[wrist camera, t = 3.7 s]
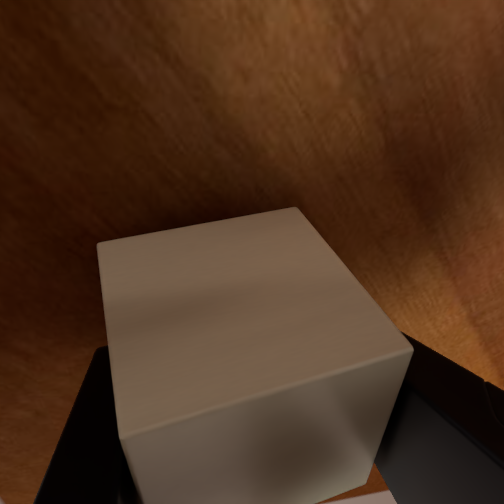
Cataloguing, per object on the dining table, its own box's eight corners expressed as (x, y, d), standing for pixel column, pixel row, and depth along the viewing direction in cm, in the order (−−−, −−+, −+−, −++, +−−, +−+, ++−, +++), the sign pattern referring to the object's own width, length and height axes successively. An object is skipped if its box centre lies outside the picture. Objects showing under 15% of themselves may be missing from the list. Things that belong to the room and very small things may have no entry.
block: (285, 336, 11) (367, 484, 8) (130, 377, 10) (160, 565, 7) (297, 205, 9) (417, 348, 6) (95, 241, 8) (118, 439, 5)
